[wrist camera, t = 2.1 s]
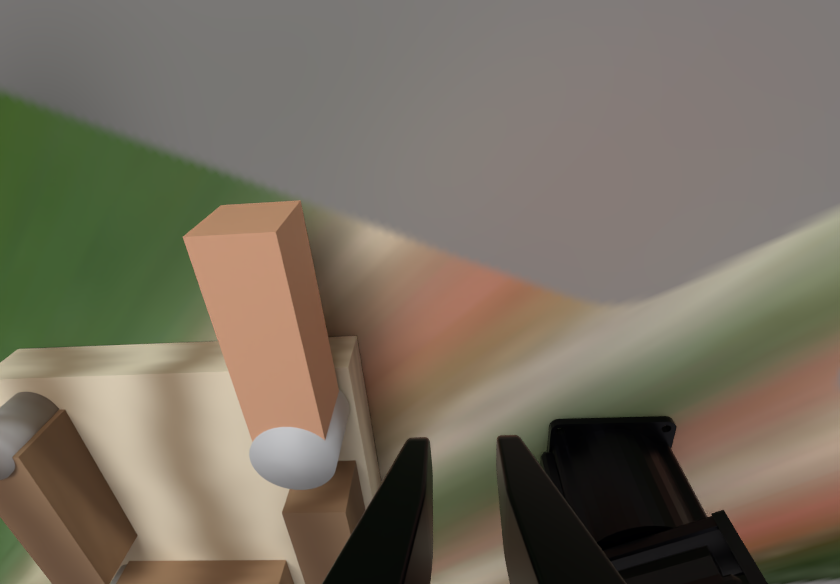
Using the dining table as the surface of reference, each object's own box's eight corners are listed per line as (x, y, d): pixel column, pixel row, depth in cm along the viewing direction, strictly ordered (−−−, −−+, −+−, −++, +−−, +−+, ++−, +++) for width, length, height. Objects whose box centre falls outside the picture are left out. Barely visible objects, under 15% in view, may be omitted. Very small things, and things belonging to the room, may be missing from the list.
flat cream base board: (356, 335, 24) (334, 418, 19) (393, 554, 33) (384, 649, 28) (18, 348, 25) (-87, 429, 20) (140, 555, 34) (89, 647, 29)
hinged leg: (354, 433, 23) (342, 489, 21) (282, 435, 24) (260, 490, 21) (309, 199, 18) (284, 232, 15) (214, 204, 18) (171, 238, 15)
